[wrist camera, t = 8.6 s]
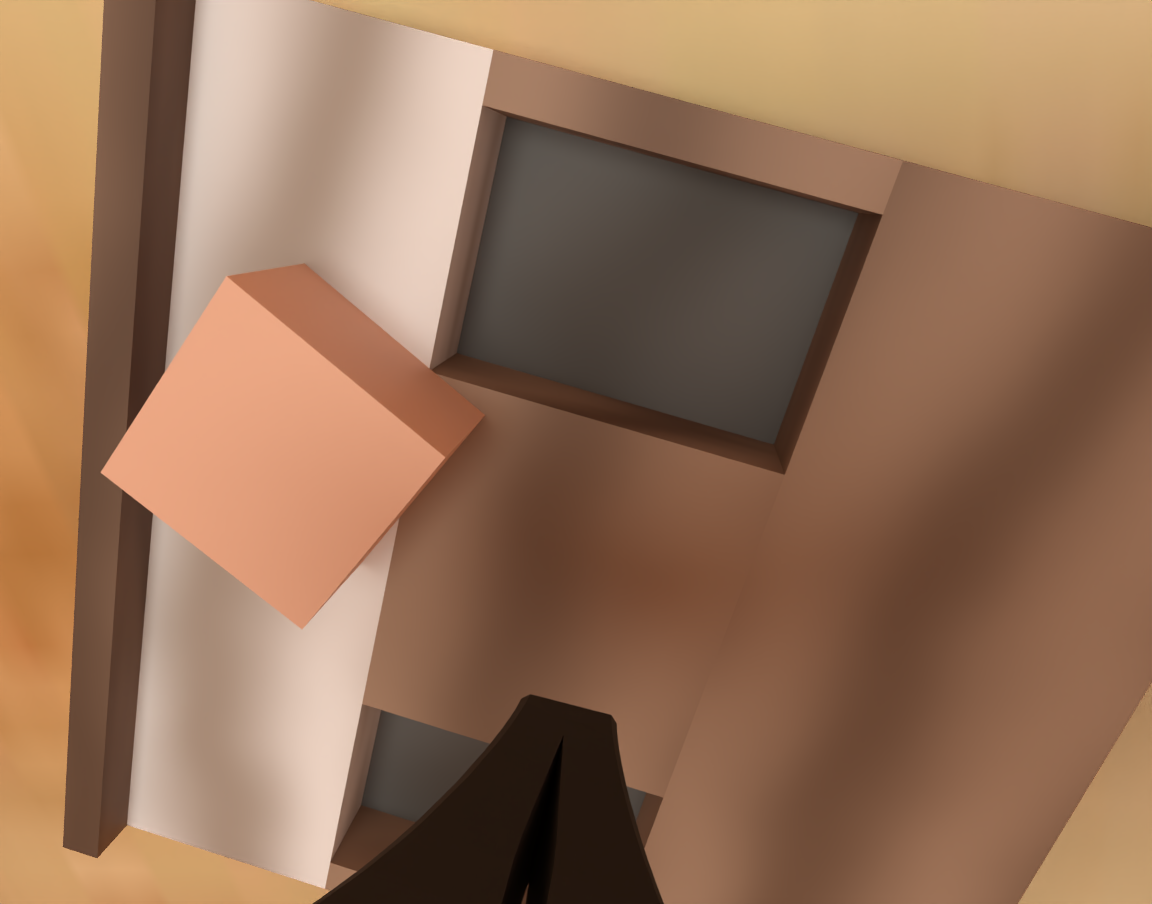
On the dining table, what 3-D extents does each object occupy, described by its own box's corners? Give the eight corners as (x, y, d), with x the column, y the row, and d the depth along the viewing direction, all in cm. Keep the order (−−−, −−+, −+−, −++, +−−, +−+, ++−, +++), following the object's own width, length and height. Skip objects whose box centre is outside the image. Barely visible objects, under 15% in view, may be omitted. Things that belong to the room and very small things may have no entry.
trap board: (1287, 278, 17) (1448, 299, 13) (889, 990, 24) (924, 1127, 20) (221, -11, 18) (107, -63, 14) (150, 756, 25) (62, 846, 21)
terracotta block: (484, 415, 17) (445, 457, 14) (359, 564, 19) (301, 629, 16) (303, 263, 17) (226, 276, 14) (191, 430, 18) (100, 472, 15)
